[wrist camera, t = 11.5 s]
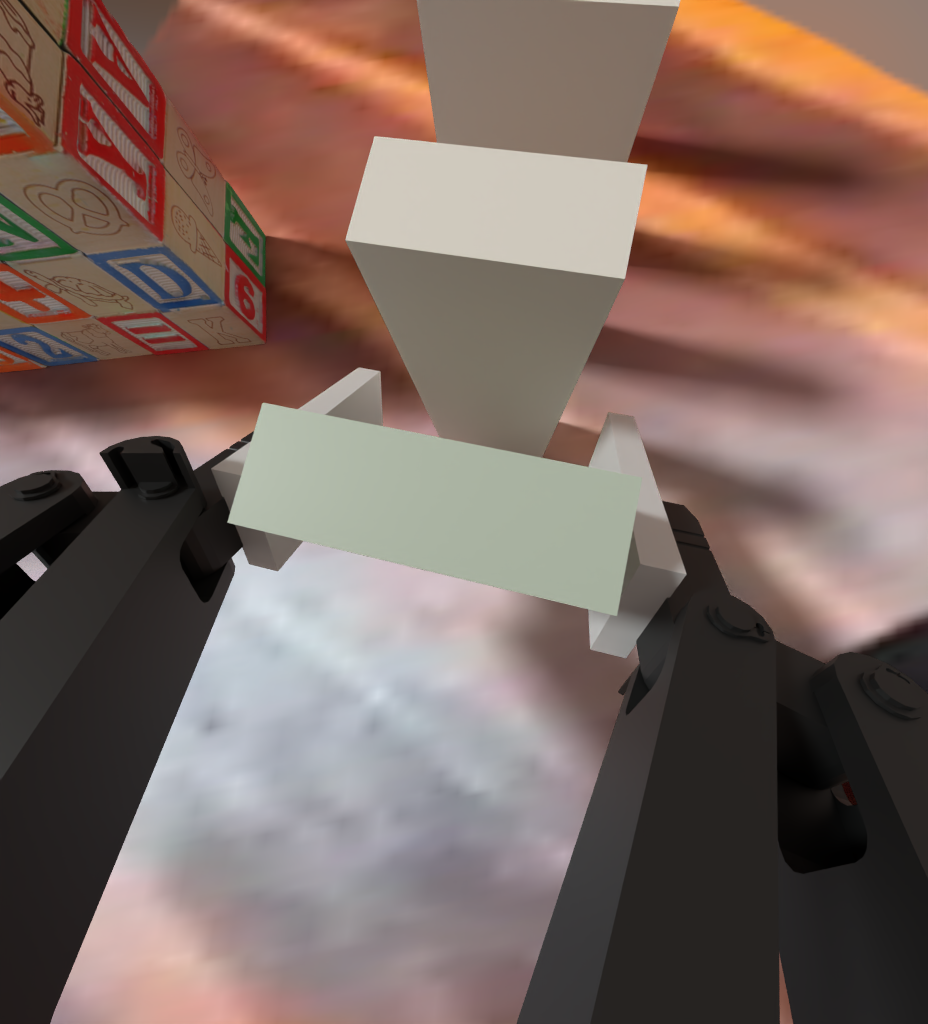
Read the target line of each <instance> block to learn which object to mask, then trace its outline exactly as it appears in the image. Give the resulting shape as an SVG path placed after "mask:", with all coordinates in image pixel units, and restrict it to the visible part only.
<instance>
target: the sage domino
mask: <svg viewBox="0 0 928 1024" xmlns="http://www.w3.org/2000/svg"><path fill="white" fill-rule="evenodd" d="M641 482H642V477H637V476H631V475H626V474H621V473H616V472H611V471H606V470H601V469H596V468H591V467H586V466H581V465H576V464H571V463H566V462H561V461H556V460H551V459H546V458H541V457H536V456H530V455H525V454H520V453H515V452H510V451H505V450H500V449H495V448H490V447H485V446H480V445H475V444H470V443H465V442H460V441H455V440H450V439H445V438H440V437H435V436H429V435H424V434H419V433H414V432H409V431H404V430H399V429H394V428H389V427H384V426H379V425H374V424H369V423H364V422H359V421H354V420H349V419H344V418H339V417H334V416H328V415H323V414H318V413H313V412H308V411H303V410H298V409H293V408H288V407H283V406H278V405H273V404H268V403H262V406H261V410H260V413H259V417H258V420H257V423H256V427H255V430H254V434H253V437H252V440H251V444H250V447H249V451H248V454H247V457H246V461H245V464H244V468H243V471H242V474H241V478H240V481H239V485H238V488H237V491H236V495H235V498H234V502H233V505H232V508H231V512H230V515H229V519H228V522H227V523H231V524H235V525H239V526H243V527H247V528H252V529H256V530H260V531H264V532H268V533H272V534H277V535H281V536H285V537H289V538H293V539H297V540H302V541H306V542H310V543H314V544H318V545H322V546H326V547H331V548H335V549H339V550H343V551H347V552H351V553H356V554H360V555H364V556H368V557H372V558H376V559H381V560H385V561H389V562H393V563H397V564H401V565H406V566H410V567H414V568H418V569H422V570H426V571H431V572H435V573H439V574H443V575H447V576H451V577H455V578H460V579H464V580H468V581H472V582H476V583H480V584H485V585H489V586H493V587H497V588H501V589H505V590H510V591H514V592H518V593H522V594H526V595H530V596H535V597H539V598H543V599H547V600H551V601H555V602H560V603H564V604H568V605H572V606H576V607H580V608H584V609H589V610H593V611H597V612H601V613H605V614H609V615H614V616H617V613H618V608H619V602H620V597H621V591H622V586H623V580H624V575H625V569H626V564H627V559H628V553H629V548H630V542H631V537H632V531H633V526H634V521H635V515H636V510H637V504H638V499H639V493H640V488H641Z"/></svg>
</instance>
